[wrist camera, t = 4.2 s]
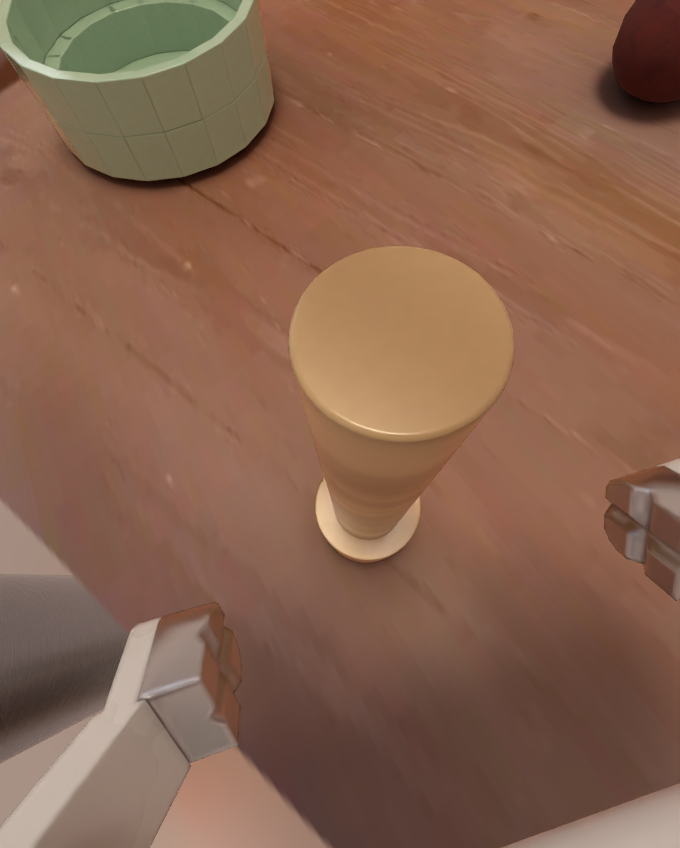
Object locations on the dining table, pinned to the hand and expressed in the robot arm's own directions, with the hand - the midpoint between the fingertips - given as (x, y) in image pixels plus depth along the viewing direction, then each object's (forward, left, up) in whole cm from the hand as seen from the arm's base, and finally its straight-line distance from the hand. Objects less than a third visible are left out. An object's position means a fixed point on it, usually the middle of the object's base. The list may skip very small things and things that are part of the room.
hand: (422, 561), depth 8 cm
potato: (+37, +10, -12) cm, 40 cm away
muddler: (+1, +2, -12) cm, 12 cm away
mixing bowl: (+11, +33, -12) cm, 37 cm away
